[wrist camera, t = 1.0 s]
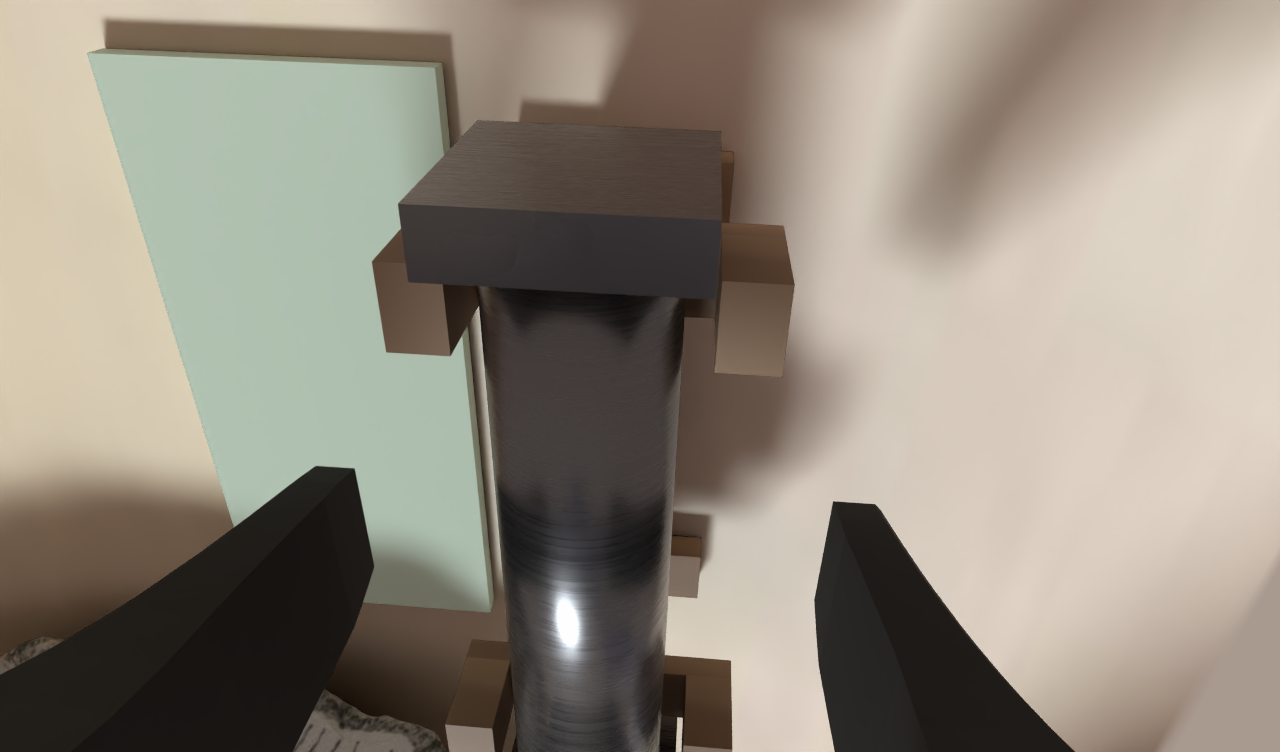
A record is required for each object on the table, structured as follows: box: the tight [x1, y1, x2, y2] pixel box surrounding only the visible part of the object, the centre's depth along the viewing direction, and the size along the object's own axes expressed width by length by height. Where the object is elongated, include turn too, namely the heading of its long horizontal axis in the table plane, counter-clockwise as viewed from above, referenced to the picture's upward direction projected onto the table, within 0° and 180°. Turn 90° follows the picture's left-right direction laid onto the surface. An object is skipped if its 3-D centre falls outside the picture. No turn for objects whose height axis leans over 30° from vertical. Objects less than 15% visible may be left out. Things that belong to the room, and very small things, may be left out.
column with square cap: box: [398, 120, 722, 752], centre depth 12 cm, size 12×3×3 cm, turn 179°
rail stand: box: [372, 151, 794, 752], centre depth 14 cm, size 10×5×5 cm, turn 179°
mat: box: [87, 49, 494, 613], centre depth 16 cm, size 12×6×1 cm, turn 179°
